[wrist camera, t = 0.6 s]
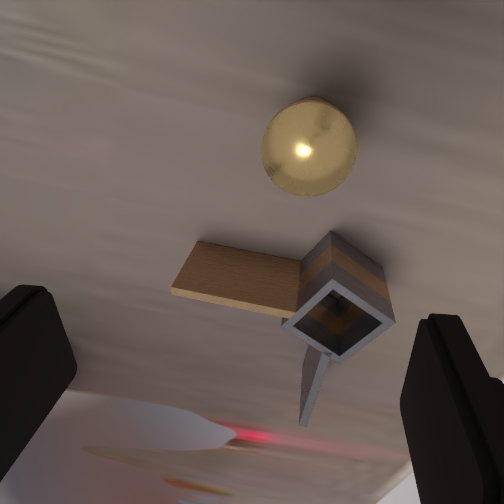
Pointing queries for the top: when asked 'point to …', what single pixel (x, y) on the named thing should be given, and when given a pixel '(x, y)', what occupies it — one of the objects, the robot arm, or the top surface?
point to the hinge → (298, 298)
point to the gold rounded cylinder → (309, 147)
